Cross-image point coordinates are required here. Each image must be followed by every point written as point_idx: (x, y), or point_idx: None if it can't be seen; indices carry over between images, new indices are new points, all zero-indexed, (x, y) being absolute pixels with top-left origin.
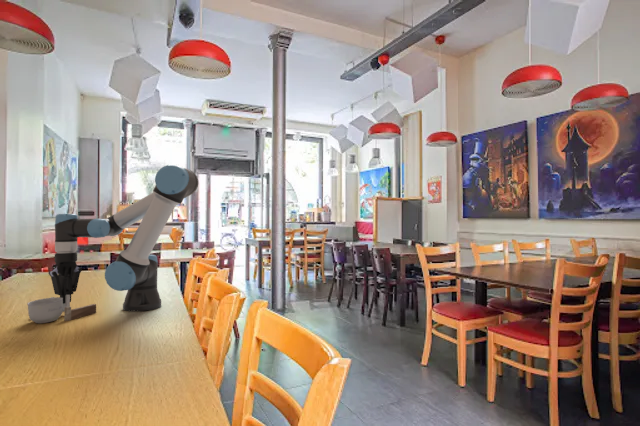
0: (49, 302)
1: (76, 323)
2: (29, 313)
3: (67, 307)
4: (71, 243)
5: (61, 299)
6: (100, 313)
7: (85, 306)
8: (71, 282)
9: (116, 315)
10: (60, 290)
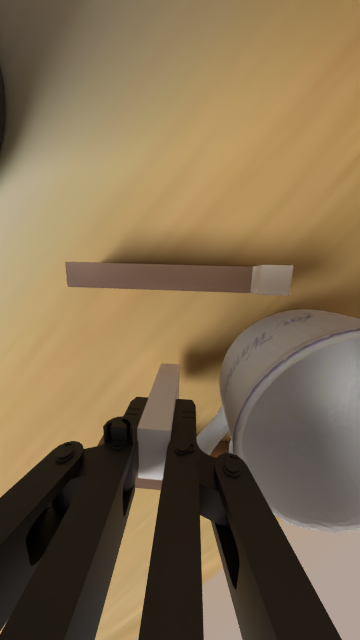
0: (249, 459)
1: (291, 178)
2: None
3: (286, 273)
4: None
5: (321, 343)
6: (95, 232)
7: (134, 278)
8: (28, 623)
9: (97, 92)
10: (244, 504)
